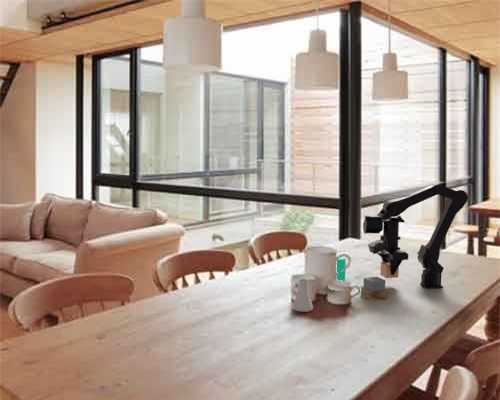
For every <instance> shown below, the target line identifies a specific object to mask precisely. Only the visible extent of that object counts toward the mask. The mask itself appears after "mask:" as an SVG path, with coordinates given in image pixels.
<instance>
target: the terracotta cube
mask: <svg viewBox="0 0 500 400" xmlns="http://www.w3.org/2000/svg"><path fill="white" fill-rule="evenodd" d="M399 267H400V266H399ZM399 267H398V269H397V271H396V272H395V274H394V275H391V271H390V262H382V261H381V262H380V276H382V277H383V278H385V279H397V278H399V272H400V271H399V270H400V269H399Z"/></svg>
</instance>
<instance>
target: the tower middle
mask: <svg viewBox="0 0 500 400" xmlns="http://www.w3.org/2000/svg"><path fill="white" fill-rule="evenodd" d="M362 286H363V287H364V288H366V289H368V290H370V291H380V290H385V289H386V279H384V278H381V277H379V276H368V277H363V284H362Z"/></svg>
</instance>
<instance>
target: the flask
mask: <svg viewBox="0 0 500 400" xmlns="http://www.w3.org/2000/svg"><path fill="white" fill-rule="evenodd" d="M308 280H309V279H306V278H299V279H298V280H297V282H298V291H297V294H296V296H295V299H294V302H293V304H292V308H291V310H293V311H296V312H301V313H302V312H303V313H305V312H306V313H308V312H311V311H313V309H314V306H313V303H312V300H311V298H310V294H309V290H308V282H309V281H308Z"/></svg>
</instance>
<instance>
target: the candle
mask: <svg viewBox="0 0 500 400" xmlns="http://www.w3.org/2000/svg"><path fill="white" fill-rule="evenodd" d="M340 257H341V258H339V259H338V260H337V272H338V275H337V279H338V280H343V281H345V282H346V261H347V259H346V257H343V256H340ZM344 268H345V270H344V271H343V272H341V271H342V270H343V269H344ZM340 272H341V273H340Z"/></svg>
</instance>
